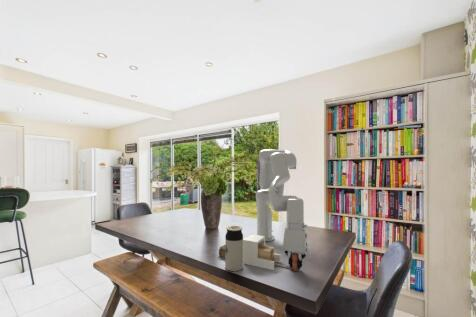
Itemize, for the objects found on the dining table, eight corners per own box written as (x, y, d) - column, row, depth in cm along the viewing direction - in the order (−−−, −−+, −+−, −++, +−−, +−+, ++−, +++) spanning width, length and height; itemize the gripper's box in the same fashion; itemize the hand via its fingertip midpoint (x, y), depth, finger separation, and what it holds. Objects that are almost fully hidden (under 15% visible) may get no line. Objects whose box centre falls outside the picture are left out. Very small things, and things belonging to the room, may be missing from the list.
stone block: (225, 253, 120) (225, 243, 120) (242, 258, 113) (242, 248, 113) (217, 256, 116) (218, 246, 116) (235, 262, 109) (235, 251, 109)
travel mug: (242, 264, 106) (242, 225, 107) (243, 271, 98) (243, 229, 99) (225, 264, 106) (225, 225, 107) (225, 271, 98) (225, 229, 99)
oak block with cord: (258, 259, 112) (258, 244, 112) (300, 267, 102) (300, 252, 103) (253, 263, 107) (253, 248, 107) (297, 273, 97) (296, 256, 97)
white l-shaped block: (252, 255, 116) (252, 234, 117) (280, 261, 109) (280, 238, 109) (242, 263, 107) (243, 239, 107) (273, 270, 100) (273, 244, 100)
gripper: (315, 226, 101) (315, 268, 100) (280, 221, 108) (280, 260, 108) (312, 230, 94) (312, 275, 93) (274, 225, 102) (275, 266, 101)
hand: (295, 267), depth 100 cm, fingers closed on oak block with cord, 3 cm apart
